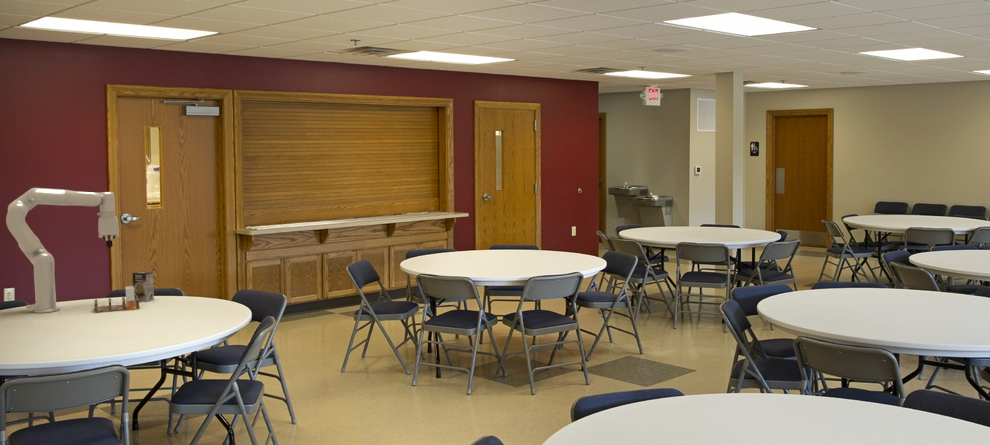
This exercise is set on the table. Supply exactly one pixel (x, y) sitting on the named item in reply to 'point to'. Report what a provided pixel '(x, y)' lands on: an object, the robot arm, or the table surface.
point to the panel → (130, 294)
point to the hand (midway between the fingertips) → (109, 247)
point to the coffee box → (143, 286)
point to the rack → (117, 306)
